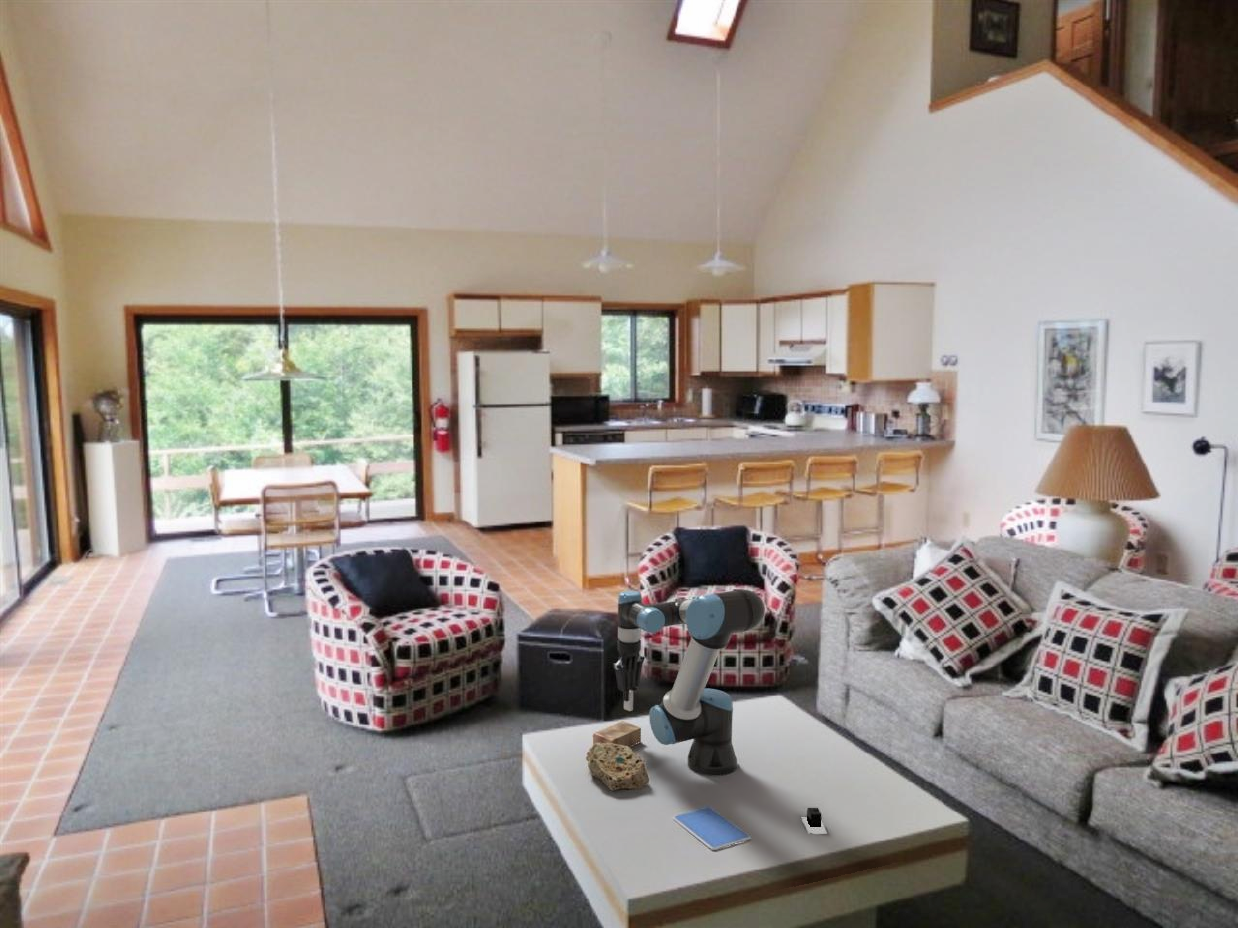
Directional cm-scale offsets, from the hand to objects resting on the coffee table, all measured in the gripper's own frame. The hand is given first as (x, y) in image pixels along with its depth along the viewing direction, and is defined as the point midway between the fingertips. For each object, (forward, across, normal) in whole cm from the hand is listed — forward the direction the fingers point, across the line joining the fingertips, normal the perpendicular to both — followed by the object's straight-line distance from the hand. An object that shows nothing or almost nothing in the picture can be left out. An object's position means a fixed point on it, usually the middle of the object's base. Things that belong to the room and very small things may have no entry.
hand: (628, 709), depth 299 cm
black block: (+11, +5, +73) cm, 74 cm away
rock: (+11, +23, +15) cm, 29 cm away
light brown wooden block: (+8, -2, 0) cm, 8 cm away
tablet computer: (+11, +26, +54) cm, 61 cm away
